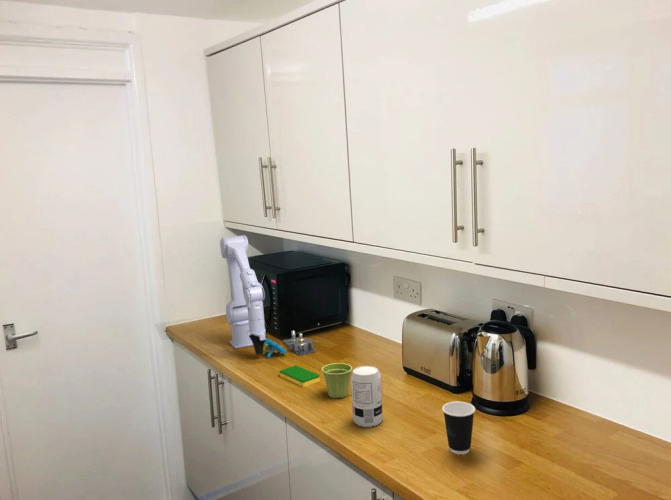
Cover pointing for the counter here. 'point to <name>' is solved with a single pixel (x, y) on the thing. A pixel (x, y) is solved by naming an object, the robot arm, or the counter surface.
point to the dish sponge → (299, 376)
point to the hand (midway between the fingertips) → (259, 353)
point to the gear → (273, 347)
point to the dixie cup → (459, 425)
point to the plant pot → (337, 379)
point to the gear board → (300, 344)
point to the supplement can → (366, 396)
